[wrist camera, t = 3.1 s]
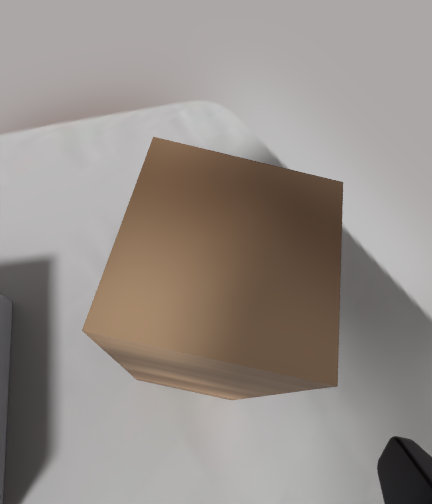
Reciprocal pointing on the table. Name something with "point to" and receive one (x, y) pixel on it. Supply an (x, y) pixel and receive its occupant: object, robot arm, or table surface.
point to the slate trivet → (4, 378)
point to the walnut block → (224, 277)
